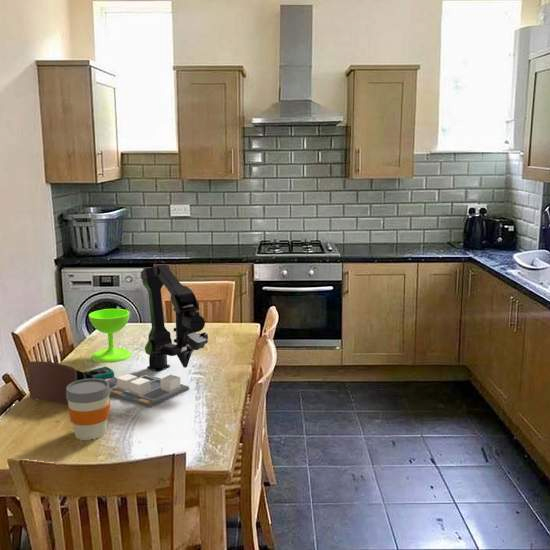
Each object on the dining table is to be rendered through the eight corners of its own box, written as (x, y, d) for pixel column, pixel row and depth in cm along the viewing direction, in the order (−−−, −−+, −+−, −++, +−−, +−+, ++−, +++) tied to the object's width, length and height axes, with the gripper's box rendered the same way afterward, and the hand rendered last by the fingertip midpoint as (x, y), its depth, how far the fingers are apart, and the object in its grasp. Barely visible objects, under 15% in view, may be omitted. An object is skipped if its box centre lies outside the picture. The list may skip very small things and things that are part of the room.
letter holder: (77, 407, 202) (74, 367, 199) (29, 399, 209) (26, 359, 206) (96, 396, 211) (93, 357, 208) (49, 388, 218) (46, 350, 215)
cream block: (141, 388, 214) (140, 377, 213) (150, 391, 212) (150, 380, 211) (130, 392, 210) (129, 381, 209) (139, 395, 208) (139, 384, 207)
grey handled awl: (116, 384, 222) (110, 381, 223) (118, 378, 222) (112, 375, 222) (96, 399, 209) (89, 396, 209) (98, 393, 208) (91, 389, 209)
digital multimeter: (116, 377, 229) (115, 370, 229) (77, 387, 220) (76, 379, 219) (107, 372, 235) (107, 365, 234) (69, 381, 226) (69, 373, 225)
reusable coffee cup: (88, 446, 175) (85, 397, 172) (59, 436, 181) (56, 388, 178) (121, 430, 185) (118, 383, 182) (92, 420, 192) (89, 375, 189)
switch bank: (148, 378, 228) (148, 373, 227) (189, 389, 216) (188, 384, 216) (108, 394, 212) (108, 389, 212) (149, 407, 201) (149, 402, 201)
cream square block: (171, 385, 217) (170, 374, 216) (180, 388, 214) (180, 377, 214) (160, 389, 213) (160, 378, 212) (170, 392, 210) (170, 381, 210)
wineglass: (139, 355, 253) (137, 313, 249) (106, 365, 241) (103, 321, 237) (116, 347, 263) (114, 306, 260) (83, 356, 251) (80, 314, 248)
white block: (128, 384, 218) (127, 373, 217) (137, 387, 215) (137, 376, 214) (117, 388, 214) (117, 378, 213) (126, 391, 211) (126, 380, 210)
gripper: (182, 335, 204) (183, 379, 207) (218, 322, 219) (219, 364, 222) (158, 330, 210) (160, 373, 213) (195, 318, 225) (196, 358, 228)
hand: (185, 367), depth 219 cm, fingers closed
